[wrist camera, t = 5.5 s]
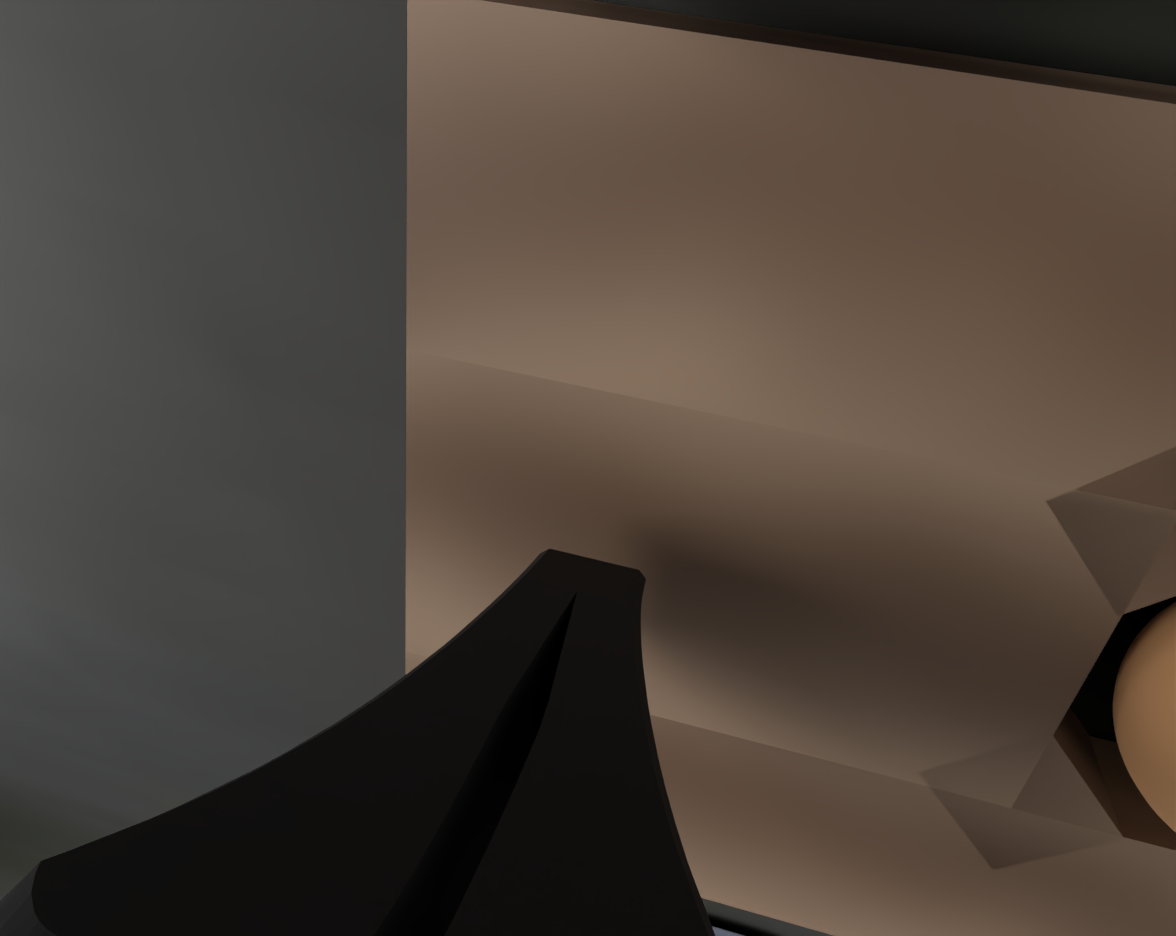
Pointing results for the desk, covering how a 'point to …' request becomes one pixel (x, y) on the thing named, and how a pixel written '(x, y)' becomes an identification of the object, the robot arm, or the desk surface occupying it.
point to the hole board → (812, 433)
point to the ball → (1150, 713)
